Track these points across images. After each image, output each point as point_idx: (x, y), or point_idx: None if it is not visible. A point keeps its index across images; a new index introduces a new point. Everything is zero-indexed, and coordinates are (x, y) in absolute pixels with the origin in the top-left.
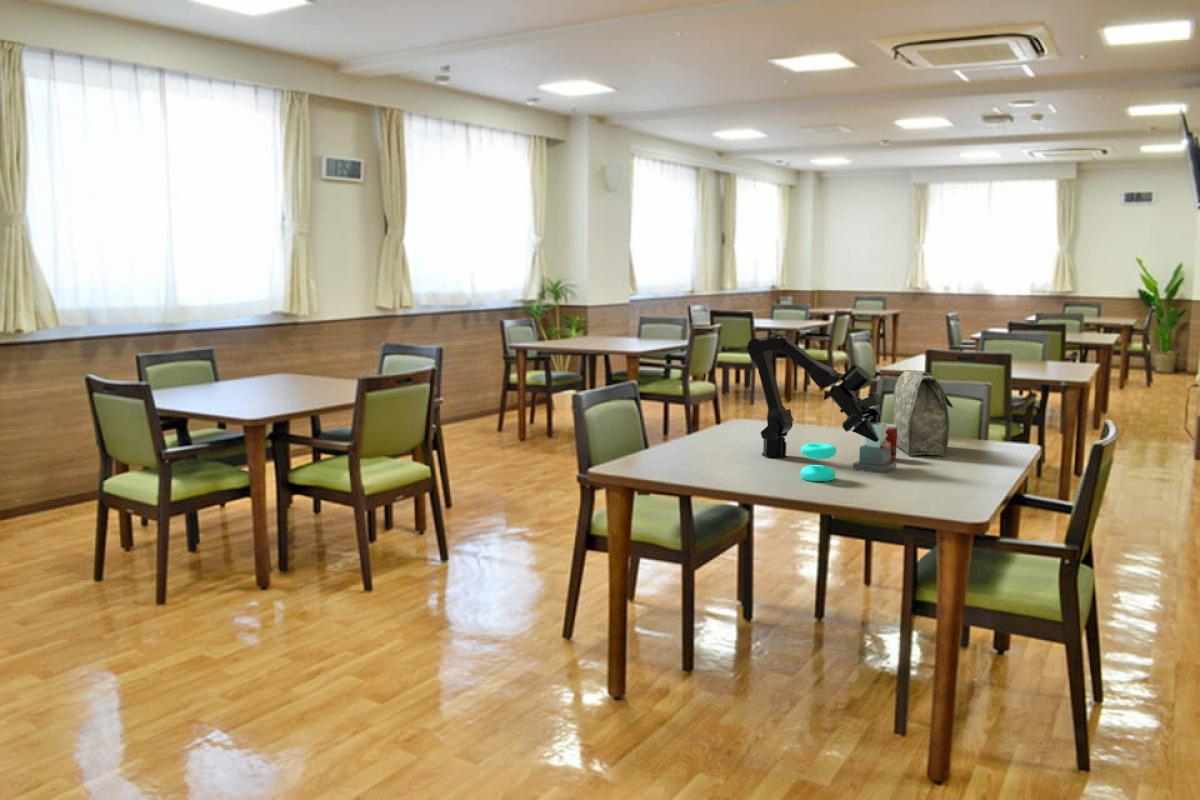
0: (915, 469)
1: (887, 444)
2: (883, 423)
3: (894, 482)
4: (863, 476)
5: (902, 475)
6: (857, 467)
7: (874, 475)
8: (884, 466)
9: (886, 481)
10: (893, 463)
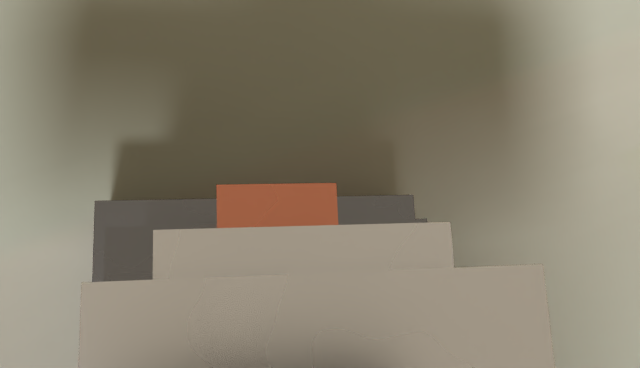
0: (73, 57)
1: (333, 189)
2: (209, 325)
3: (622, 45)
4: (599, 298)
5: (373, 70)
6: None
7: (511, 244)
8: (399, 206)
9: (632, 98)
10: (188, 199)
